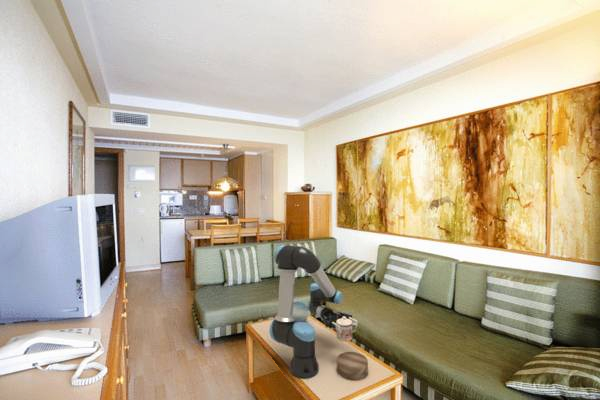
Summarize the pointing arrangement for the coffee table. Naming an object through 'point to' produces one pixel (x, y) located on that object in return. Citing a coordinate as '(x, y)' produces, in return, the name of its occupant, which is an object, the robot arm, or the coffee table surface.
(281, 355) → the coffee table surface
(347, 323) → the teacup with lid
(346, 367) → the walnut riser
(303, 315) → the decorative ball
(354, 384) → the coffee table surface
